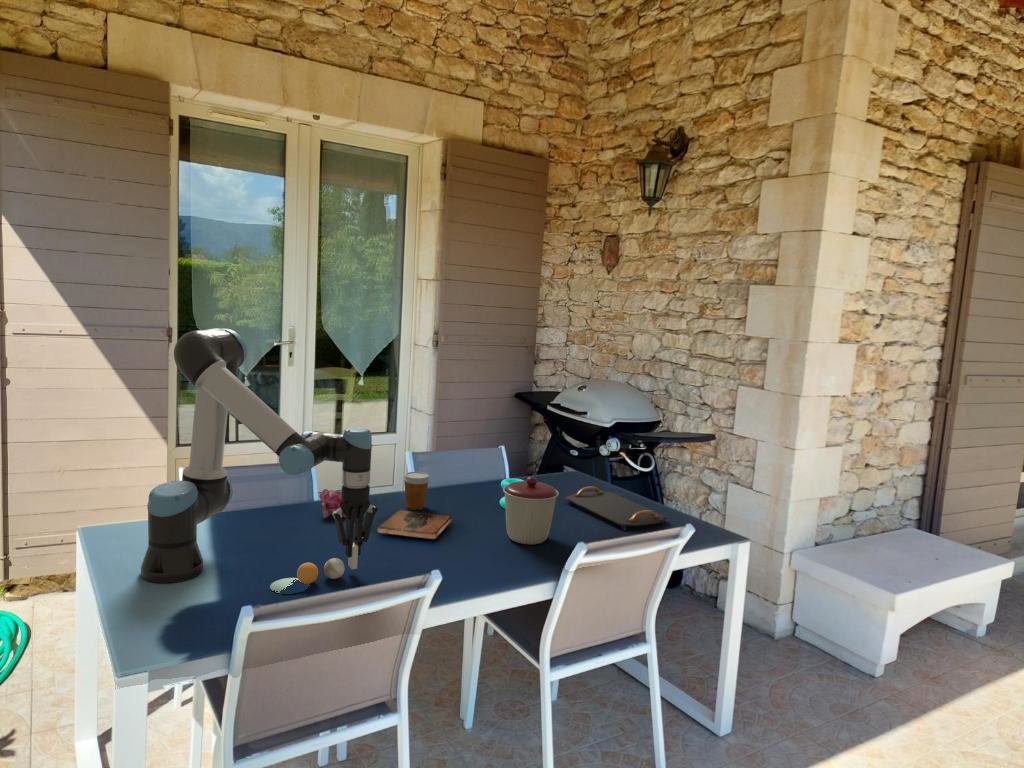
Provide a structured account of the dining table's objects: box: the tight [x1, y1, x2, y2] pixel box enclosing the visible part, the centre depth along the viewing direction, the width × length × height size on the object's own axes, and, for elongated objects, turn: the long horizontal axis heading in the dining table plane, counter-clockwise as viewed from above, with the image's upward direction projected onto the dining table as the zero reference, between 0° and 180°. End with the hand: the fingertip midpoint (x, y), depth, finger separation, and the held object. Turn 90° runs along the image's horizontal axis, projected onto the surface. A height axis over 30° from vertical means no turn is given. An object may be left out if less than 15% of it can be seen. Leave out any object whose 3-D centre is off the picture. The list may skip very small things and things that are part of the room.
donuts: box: [499, 477, 525, 510], centre depth 265 cm, size 10×10×10 cm
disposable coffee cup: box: [402, 471, 431, 511], centre depth 257 cm, size 10×10×12 cm
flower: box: [318, 488, 346, 520], centre depth 243 cm, size 11×10×10 cm
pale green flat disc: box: [269, 577, 311, 594], centre depth 187 cm, size 10×10×1 cm
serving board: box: [565, 485, 667, 530], centre depth 267 cm, size 39×23×6 cm, turn 33°
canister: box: [502, 476, 560, 546], centre depth 232 cm, size 18×18×21 cm
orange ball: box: [296, 562, 319, 585], centre depth 189 cm, size 6×6×6 cm
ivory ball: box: [323, 557, 346, 580], centre depth 193 cm, size 6×6×6 cm
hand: (352, 567), depth 197 cm, fingers closed
